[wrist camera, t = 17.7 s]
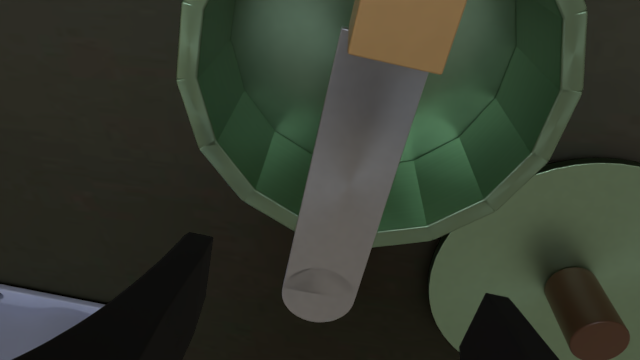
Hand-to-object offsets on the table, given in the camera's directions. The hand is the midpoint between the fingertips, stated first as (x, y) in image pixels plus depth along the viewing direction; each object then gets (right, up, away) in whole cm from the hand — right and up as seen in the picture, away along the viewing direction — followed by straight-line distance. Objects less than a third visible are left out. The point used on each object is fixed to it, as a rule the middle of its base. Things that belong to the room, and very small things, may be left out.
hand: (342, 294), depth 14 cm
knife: (+1, +6, +2) cm, 6 cm away
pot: (+1, +9, +7) cm, 11 cm away
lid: (+11, -2, +12) cm, 16 cm away
